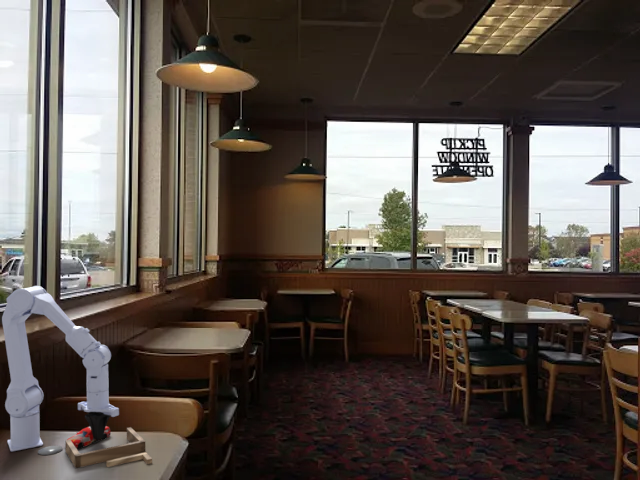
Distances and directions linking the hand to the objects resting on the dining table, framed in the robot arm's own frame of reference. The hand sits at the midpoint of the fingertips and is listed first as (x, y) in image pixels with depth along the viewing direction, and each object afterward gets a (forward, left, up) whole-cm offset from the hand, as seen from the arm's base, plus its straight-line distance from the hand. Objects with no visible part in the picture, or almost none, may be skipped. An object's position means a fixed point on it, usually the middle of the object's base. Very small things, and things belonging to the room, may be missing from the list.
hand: (98, 438), depth 156 cm
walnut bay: (+8, 0, -1) cm, 8 cm away
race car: (-3, -2, -2) cm, 4 cm away
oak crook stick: (+20, +3, -1) cm, 20 cm away
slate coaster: (-2, -12, -1) cm, 12 cm away
